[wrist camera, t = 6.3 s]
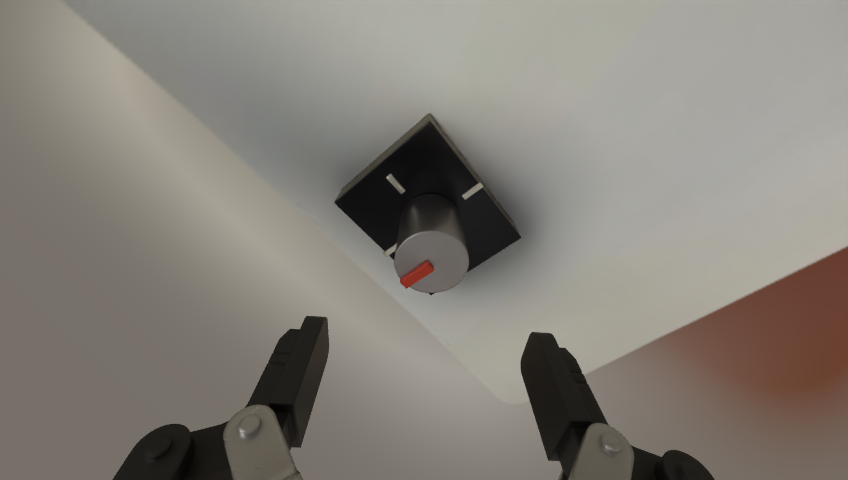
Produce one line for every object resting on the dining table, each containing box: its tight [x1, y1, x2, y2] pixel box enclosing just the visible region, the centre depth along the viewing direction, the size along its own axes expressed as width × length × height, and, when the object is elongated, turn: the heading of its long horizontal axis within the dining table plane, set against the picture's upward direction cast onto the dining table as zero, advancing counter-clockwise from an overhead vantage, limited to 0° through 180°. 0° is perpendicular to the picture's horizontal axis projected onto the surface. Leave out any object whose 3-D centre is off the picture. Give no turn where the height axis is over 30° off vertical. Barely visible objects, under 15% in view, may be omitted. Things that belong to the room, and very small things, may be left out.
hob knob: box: [394, 194, 469, 293], centre depth 20 cm, size 4×4×5 cm
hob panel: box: [334, 114, 521, 295], centre depth 23 cm, size 10×8×3 cm
